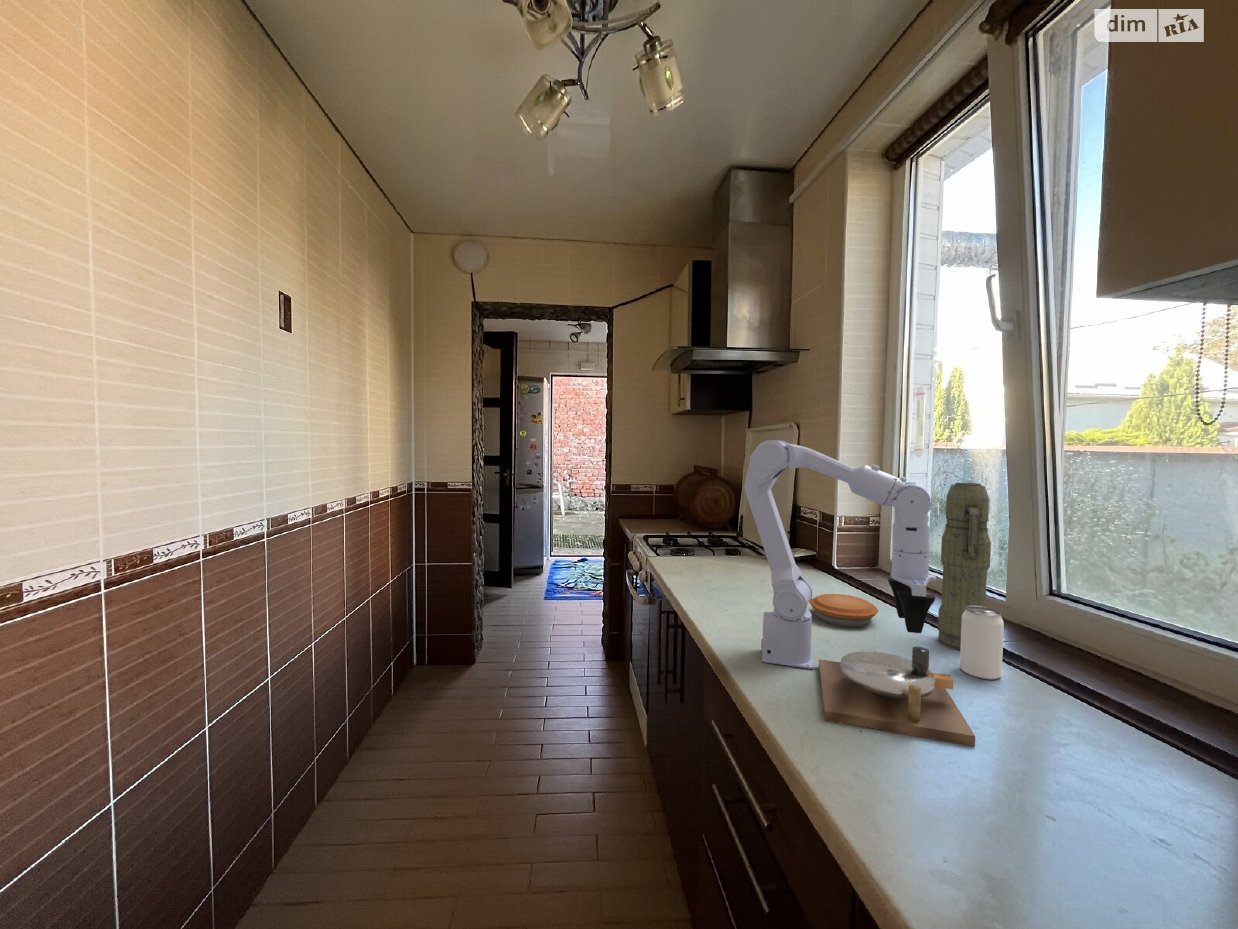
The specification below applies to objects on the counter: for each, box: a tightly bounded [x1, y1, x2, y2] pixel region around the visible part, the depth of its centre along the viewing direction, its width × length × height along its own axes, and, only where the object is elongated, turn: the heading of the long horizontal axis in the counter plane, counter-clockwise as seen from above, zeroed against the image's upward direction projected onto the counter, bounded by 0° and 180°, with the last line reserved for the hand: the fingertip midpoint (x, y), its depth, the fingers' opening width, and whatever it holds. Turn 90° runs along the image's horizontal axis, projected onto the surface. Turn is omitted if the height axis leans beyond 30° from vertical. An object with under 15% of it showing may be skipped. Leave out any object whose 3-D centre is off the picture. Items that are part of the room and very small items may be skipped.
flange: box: [840, 646, 954, 698], centre depth 85 cm, size 16×14×6 cm
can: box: [959, 606, 1005, 681], centre depth 96 cm, size 6×6×12 cm
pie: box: [809, 593, 880, 628], centre depth 125 cm, size 15×16×5 cm
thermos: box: [937, 482, 992, 651], centre depth 109 cm, size 9×12×35 cm
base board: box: [818, 658, 976, 747], centre depth 85 cm, size 20×20×6 cm
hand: (909, 624), depth 92 cm, fingers open, 7 cm apart
